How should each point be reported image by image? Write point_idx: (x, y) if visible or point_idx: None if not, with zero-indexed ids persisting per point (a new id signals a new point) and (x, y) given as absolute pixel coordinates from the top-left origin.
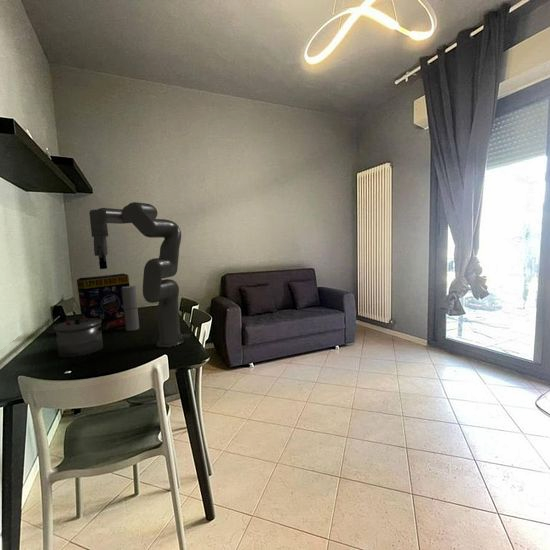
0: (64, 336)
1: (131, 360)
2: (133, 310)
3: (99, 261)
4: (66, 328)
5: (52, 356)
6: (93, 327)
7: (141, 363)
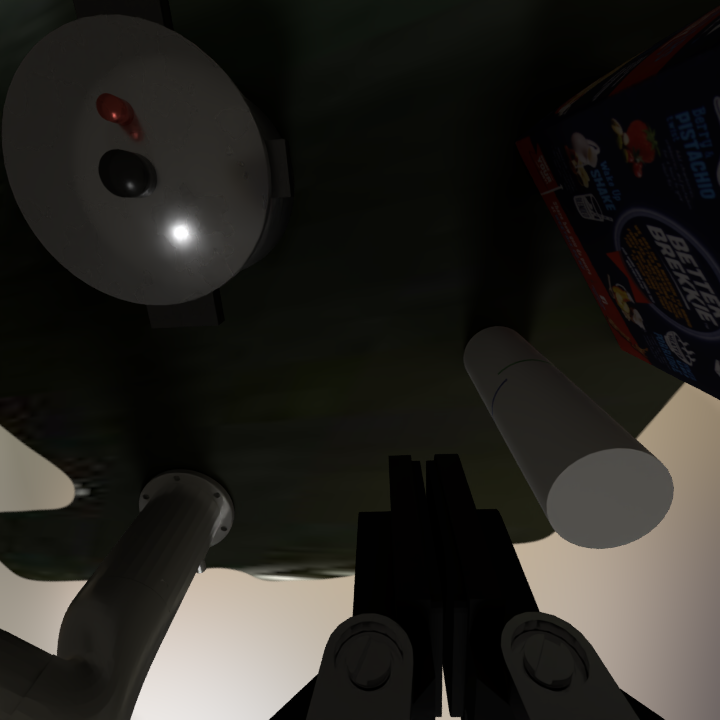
0: None
1: (42, 402)
2: (492, 417)
3: (347, 623)
4: (4, 143)
5: None
6: None
7: (10, 433)
